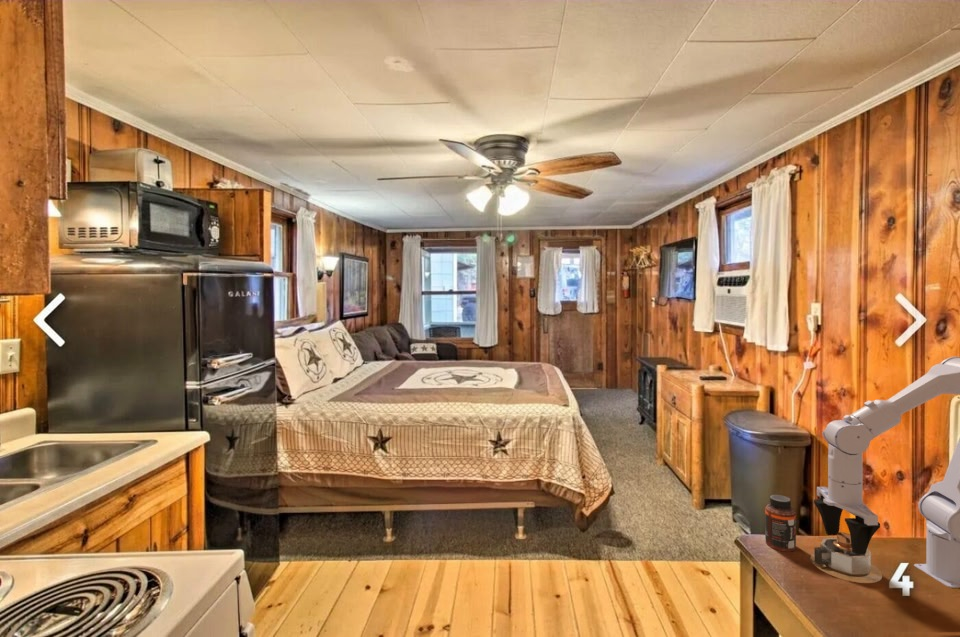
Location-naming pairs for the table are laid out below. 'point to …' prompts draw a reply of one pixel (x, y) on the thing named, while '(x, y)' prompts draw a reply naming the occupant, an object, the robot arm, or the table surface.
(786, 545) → the supplement bottle
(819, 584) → the table surface
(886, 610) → the table surface
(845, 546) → the copper knob
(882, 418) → the robot arm
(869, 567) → the grey octagonal base
